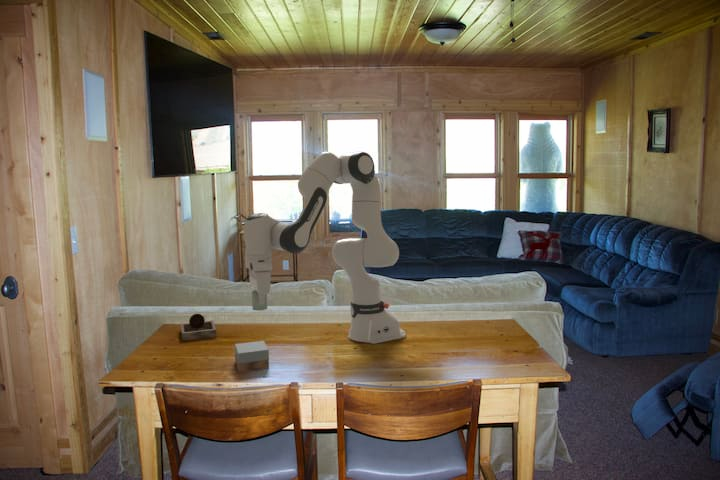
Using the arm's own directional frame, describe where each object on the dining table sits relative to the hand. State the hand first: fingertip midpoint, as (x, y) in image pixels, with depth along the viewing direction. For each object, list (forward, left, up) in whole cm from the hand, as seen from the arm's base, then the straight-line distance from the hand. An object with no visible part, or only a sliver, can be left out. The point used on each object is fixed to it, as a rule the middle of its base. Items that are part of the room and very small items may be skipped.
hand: (259, 301), depth 196 cm
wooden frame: (+19, -42, -22) cm, 51 cm away
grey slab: (+3, 0, -19) cm, 19 cm away
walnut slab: (+4, 0, -23) cm, 23 cm away
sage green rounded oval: (0, 0, -2) cm, 2 cm away
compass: (+17, -44, -22) cm, 52 cm away
